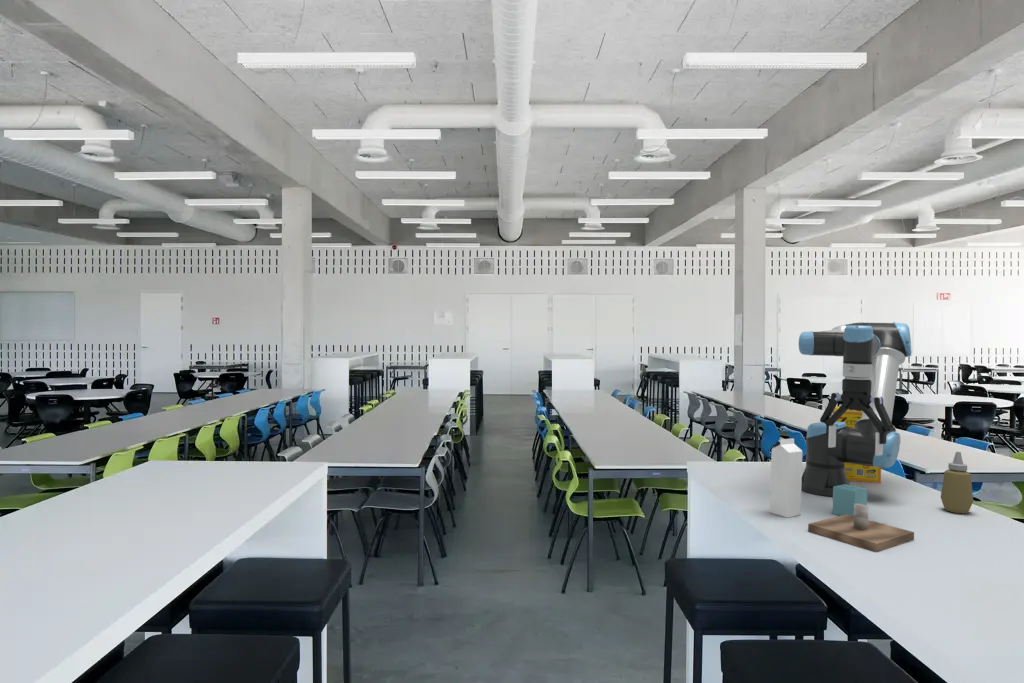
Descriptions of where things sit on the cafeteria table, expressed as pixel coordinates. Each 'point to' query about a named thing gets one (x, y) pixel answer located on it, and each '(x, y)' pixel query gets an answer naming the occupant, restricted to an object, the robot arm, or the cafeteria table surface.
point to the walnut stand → (861, 530)
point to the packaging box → (855, 470)
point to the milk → (786, 479)
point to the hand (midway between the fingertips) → (854, 451)
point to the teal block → (847, 498)
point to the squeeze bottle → (957, 487)
